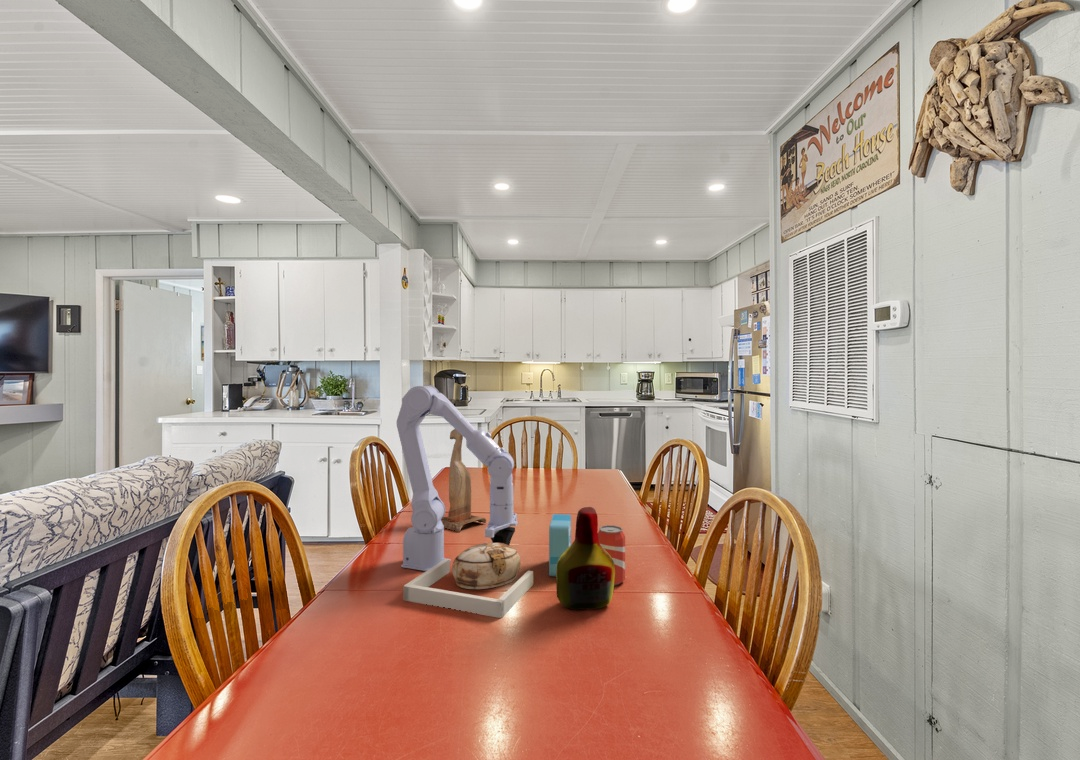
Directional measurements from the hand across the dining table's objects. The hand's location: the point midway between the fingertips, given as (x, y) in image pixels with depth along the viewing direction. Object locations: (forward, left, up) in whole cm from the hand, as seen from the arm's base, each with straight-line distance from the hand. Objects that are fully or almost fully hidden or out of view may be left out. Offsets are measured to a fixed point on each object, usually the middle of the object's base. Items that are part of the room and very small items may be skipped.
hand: (501, 558), depth 127 cm
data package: (+14, +3, -2) cm, 15 cm away
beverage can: (+27, 0, -2) cm, 27 cm away
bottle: (+25, -14, -2) cm, 29 cm away
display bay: (0, -17, -2) cm, 17 cm away
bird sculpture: (-26, +26, -2) cm, 37 cm away
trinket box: (0, -9, -2) cm, 9 cm away
